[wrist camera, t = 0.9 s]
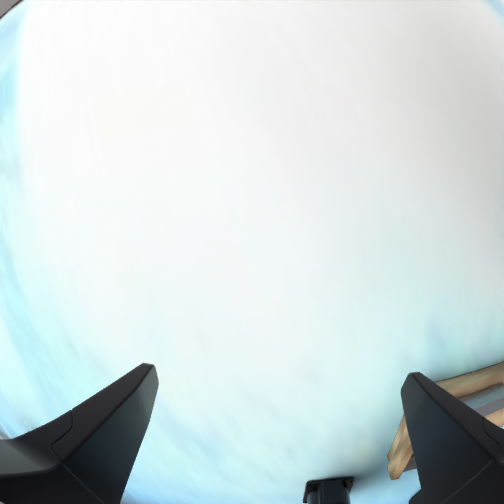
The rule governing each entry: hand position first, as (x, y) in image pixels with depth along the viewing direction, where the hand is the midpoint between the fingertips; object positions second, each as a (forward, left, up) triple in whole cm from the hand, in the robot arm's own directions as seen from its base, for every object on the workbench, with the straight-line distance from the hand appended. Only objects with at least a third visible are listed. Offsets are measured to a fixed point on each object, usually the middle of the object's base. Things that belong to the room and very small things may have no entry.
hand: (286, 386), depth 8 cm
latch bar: (-15, -21, -12) cm, 29 cm away
